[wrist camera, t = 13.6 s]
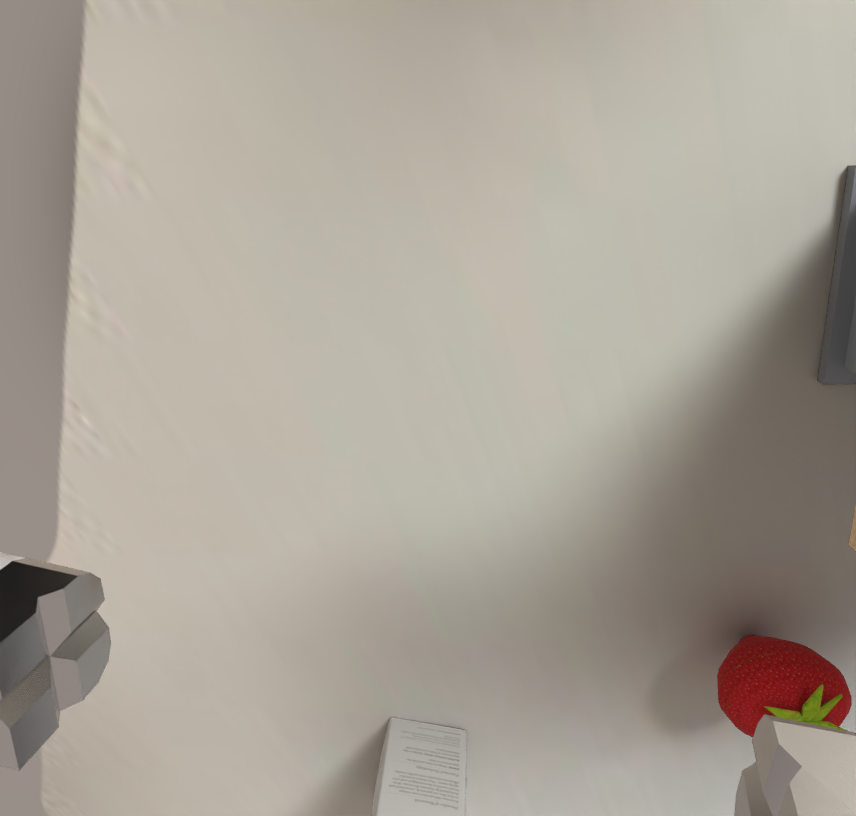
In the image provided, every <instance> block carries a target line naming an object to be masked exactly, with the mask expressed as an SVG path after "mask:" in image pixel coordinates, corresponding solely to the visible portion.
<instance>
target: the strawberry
mask: <svg viewBox="0 0 856 816" xmlns="http://www.w3.org/2000/svg"><path fill="white" fill-rule="evenodd" d="M717 679H718V700H719V704H720V706H721V709H722V710H723V711H724V713H725V714H726V715H727V717H728V718H729V719H730V720H731V721H732V723H733V724H734V725H735V726H736V727H737V728H738V729H739V730H741V731H742V732H743V733H745V734H747V735H749V736H751V737H753V736H754V733H755V730H756V727H757V724H758V722H759V721H760V720H761V718H762V717H763V716H764V714H765V715H770V716H775V717H780V718H785V719H790V720H795V721H800V722H805V723H810V724H815V725H819V726H824V727H829V728H834V729H839V730H844V729H842V728H840V727H839V726H840V725H841V723H842V722H843V720H844V719H845V717H846V716H847V714H848V713H849V710H850V707H851V695H850V691H849V689H848V686H847V684H846V681H845V679H844V676H843V675H842V674H841V672H840V671H839V670H838V669H837V668H836V667H835V666H834V665H833V664H831V663H830V662H829V661H827V660H826V659H824V658H823V657H822V656H820V655H819V654H817V653H816V652H815V651H813V650H812V649H810V648H808V647H806V646H804V645H801V644H798V643H794V642H790V641H786V640H782V639H778V638H772V637H760V636H756V635H749V636H746V637H744V638H742V639H741V640H740V642H739V643H738V644H737V645H736V646H735V647H734V648H733V649H732V650H731V651H730V652H729V654H728V655H727V657H726V658H725V660H724V662H723V663H722V665H721V667H720V668H719V671H718V675H717ZM844 731H847V730H844Z"/></svg>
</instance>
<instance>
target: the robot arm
mask: <svg viewBox="0 0 856 816" xmlns="http://www.w3.org/2000/svg"><path fill="white" fill-rule="evenodd" d="M104 600H105V598H104V594H103V589H102V584H101V579H100V578H98V577H97V576H95V575H93V574H92V573H89V572H85V571H81V570H77V569H73V568H68V567H64V566H60V565H56V564H52V563H48V562H43V561H39V560H35V559H31V558H22V557H19V556H14V555H10V554H6V553H2V552H0V766H1V767H6V768H10V769H14V770H18V771H19V770H20V769H21V768H22V767H23V766H24V765H25V764H26V763H27V762H28V760H29V759H30V758H31V757H32V756H33V755H34V754H35V753H36V752H37V751H38V749H39V748H40V747H41V746H42V745H43V744H44V743H45V742H46V741H47V740H48V738H49V737H50V736H51V735H52V734H53V733H54V732H55V731H56V730H57V729H58V727H59V717H60V711H61V710H63V709H65V708H68V707H70V706H72V705H74V704H76V703H78V702H80V701H82V700H84V699H85V697H86V696H87V695H88V694H89V693H90V692H91V690H92V689H93V688H94V687H95V686H96V685H97V683H98V682H99V680H100V678H101V676H102V673H103V671H104V669H105V667H106V665H107V663H108V660H109V653H110V646H111V640H110V632H109V627H108V626H107V624H106V623H105V622H104V620H103V619H102V618H101V616H100V615H99V614H98V612H97V610H98V608H99V607H100V606H101V604H102V603H103V601H104ZM752 743H753V748H754V752H755V757H756V763H754V764H753V765H751V766H749V767H748V768H746V769H744V770H743V771H742V774H741V778H740V782H739V785H738V789H737V793H736V802H735V813H734V816H856V733H854V732H849V731H844V730H839V729H834V728H829V727H824V726H819V725H815V724H810V723H805V722H800V721H795V720H790V719H785V718H780V717H775V716H770V715H765V714H764V716H763V717H762V718H761V720H760V721H759V722H758V724H757V727H756V730H755V733H754V736H753V739H752Z"/></svg>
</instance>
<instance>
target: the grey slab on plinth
mask: <svg viewBox="0 0 856 816" xmlns="http://www.w3.org/2000/svg"><path fill="white" fill-rule="evenodd" d="M817 381H819V382H820V383H822V384H824V385H831V384H856V165H855V166H848V171H847V178H846V185H845V192H844V199H843V206H842V213H841V220H840V227H839V234H838V241H837V248H836V255H835V261H834V268H833V275H832V282H831V289H830V296H829V303H828V310H827V317H826V324H825V331H824V338H823V345H822V352H821V359H820V366H819V373H818V380H817Z"/></svg>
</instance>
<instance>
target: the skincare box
mask: <svg viewBox="0 0 856 816" xmlns="http://www.w3.org/2000/svg"><path fill="white" fill-rule="evenodd" d="M466 765H467V732H466V731H465V730H462V729H457V728H451V727H446V726H440V725H434V724H429V723H423V722H417V721H412V720H406V719H400V718H394V717H392V718H390V720H389V723H388V727H387V731H386V735H385V739H384V744H383V748H382V753H381V758H380V762H379V768H378V774H377V779H376V785H375V792H374V798H373V804H372V811H371V816H466Z"/></svg>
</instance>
